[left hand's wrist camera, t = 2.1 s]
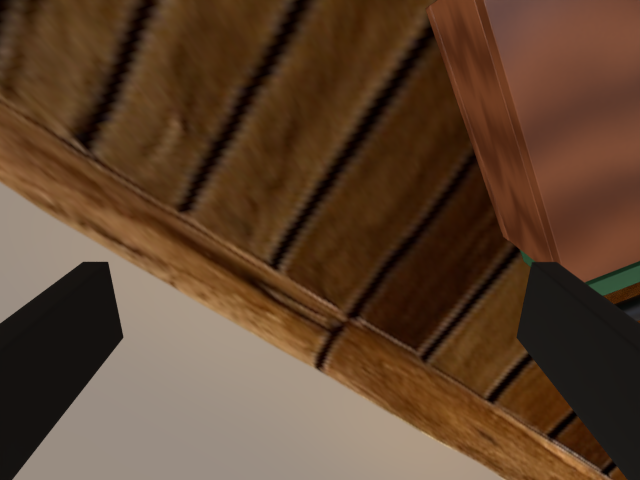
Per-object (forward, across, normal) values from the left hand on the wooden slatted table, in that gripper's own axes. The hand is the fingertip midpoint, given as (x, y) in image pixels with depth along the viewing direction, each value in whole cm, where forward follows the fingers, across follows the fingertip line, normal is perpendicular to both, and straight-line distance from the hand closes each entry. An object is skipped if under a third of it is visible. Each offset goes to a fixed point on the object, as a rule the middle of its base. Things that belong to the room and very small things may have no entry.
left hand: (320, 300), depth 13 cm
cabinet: (+21, +16, +5) cm, 27 cm away
